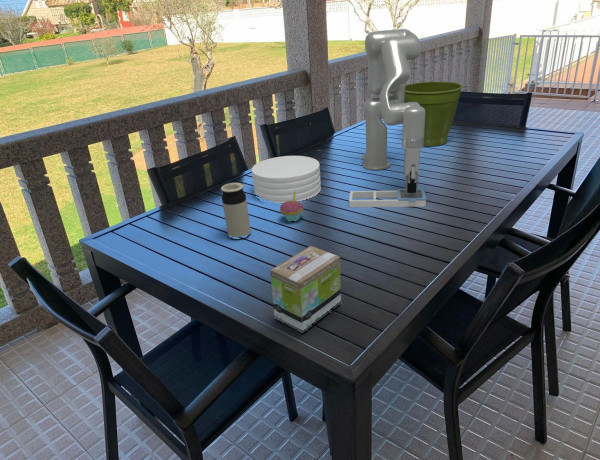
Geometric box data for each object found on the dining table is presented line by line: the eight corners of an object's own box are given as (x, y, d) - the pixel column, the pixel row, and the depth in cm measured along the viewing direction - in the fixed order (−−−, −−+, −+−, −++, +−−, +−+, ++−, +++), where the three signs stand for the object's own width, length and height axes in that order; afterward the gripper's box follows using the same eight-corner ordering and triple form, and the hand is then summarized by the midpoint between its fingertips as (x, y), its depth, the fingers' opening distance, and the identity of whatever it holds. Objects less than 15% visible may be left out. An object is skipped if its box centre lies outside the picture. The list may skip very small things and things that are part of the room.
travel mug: (241, 242, 149) (233, 192, 141) (223, 237, 153) (215, 189, 145) (255, 232, 155) (249, 184, 147) (238, 228, 159) (230, 181, 151)
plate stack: (330, 183, 193) (329, 157, 188) (304, 208, 170) (302, 180, 165) (274, 178, 204) (271, 154, 199) (242, 201, 182) (238, 174, 177)
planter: (403, 195, 169) (403, 169, 165) (414, 193, 170) (415, 168, 165) (406, 199, 165) (407, 173, 161) (418, 198, 166) (419, 172, 161)
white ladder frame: (350, 195, 178) (350, 188, 176) (422, 194, 173) (423, 187, 172) (349, 208, 166) (348, 201, 165) (426, 208, 162) (426, 200, 160)
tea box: (304, 336, 104) (299, 283, 97) (274, 320, 110) (267, 269, 103) (342, 304, 113) (340, 254, 107) (312, 291, 120) (309, 243, 113)
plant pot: (398, 136, 251) (399, 83, 238) (452, 133, 246) (456, 80, 234) (401, 151, 225) (403, 93, 212) (462, 149, 220) (467, 89, 207)
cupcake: (307, 215, 164) (304, 185, 158) (299, 225, 157) (297, 194, 151) (285, 214, 167) (282, 184, 161) (277, 224, 159) (274, 193, 154)
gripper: (400, 136, 166) (399, 182, 174) (403, 149, 151) (402, 198, 159) (421, 135, 165) (419, 181, 173) (426, 148, 150) (423, 198, 158)
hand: (411, 189), depth 166 cm, fingers closed on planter, 4 cm apart
